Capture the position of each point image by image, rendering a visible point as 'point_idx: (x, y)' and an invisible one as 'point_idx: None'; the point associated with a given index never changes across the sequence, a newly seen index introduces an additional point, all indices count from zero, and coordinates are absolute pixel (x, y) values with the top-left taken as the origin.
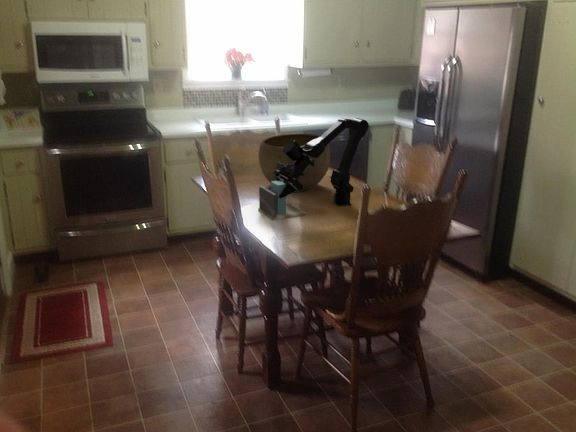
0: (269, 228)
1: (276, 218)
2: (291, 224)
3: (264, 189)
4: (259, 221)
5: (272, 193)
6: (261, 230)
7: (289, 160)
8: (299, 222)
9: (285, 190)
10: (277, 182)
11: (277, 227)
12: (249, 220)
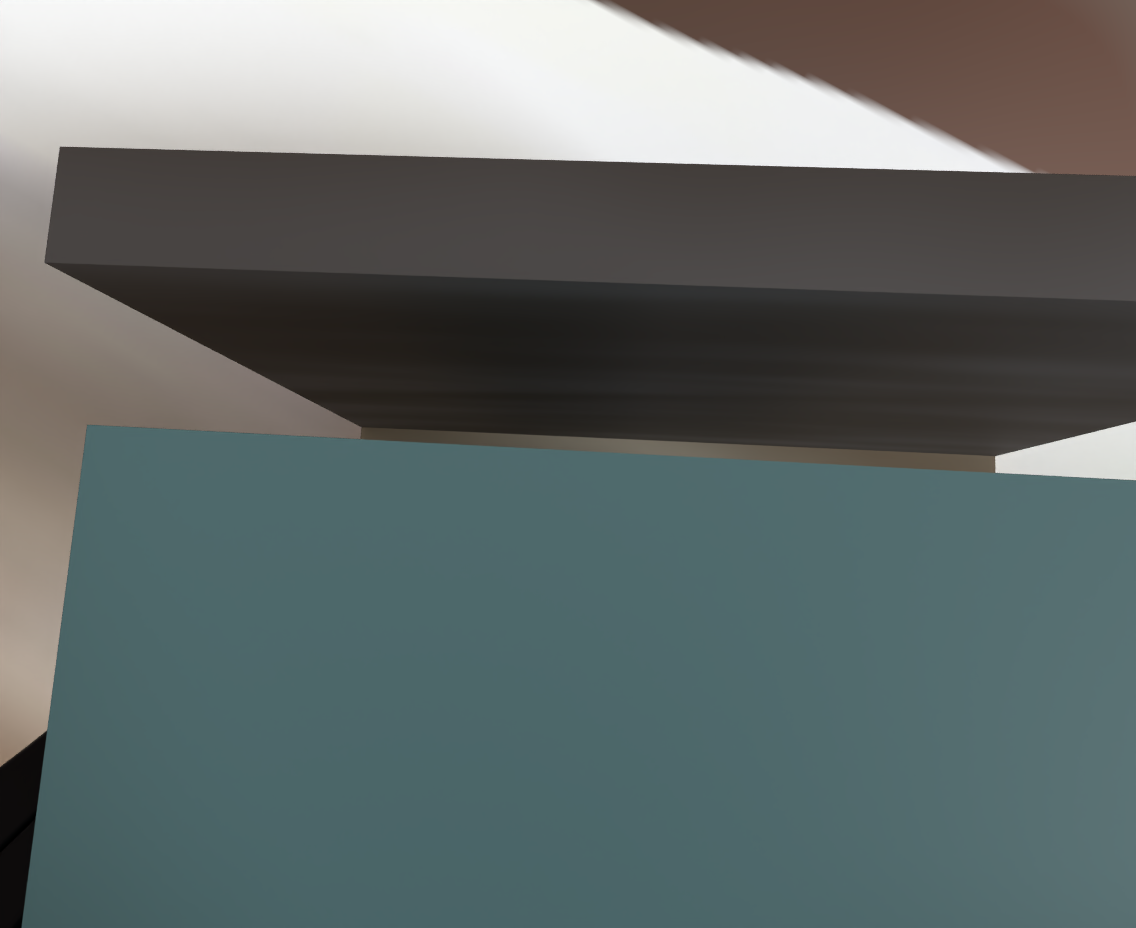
0: (90, 142)
1: (368, 432)
2: (45, 539)
3: (965, 173)
4: (447, 150)
5: (255, 188)
6: (86, 3)
7: None
8: (48, 716)
9: (8, 793)
10: (778, 816)
11: (58, 270)
12: (572, 33)
